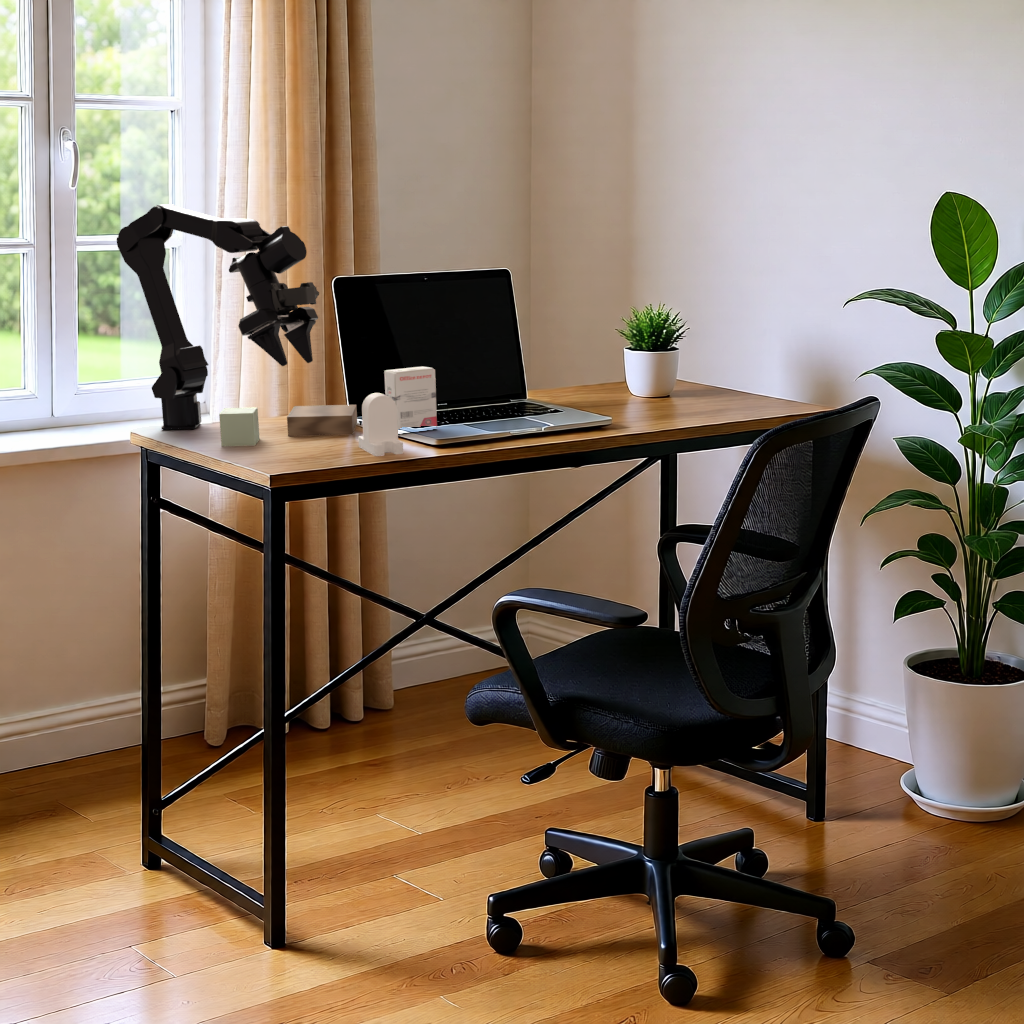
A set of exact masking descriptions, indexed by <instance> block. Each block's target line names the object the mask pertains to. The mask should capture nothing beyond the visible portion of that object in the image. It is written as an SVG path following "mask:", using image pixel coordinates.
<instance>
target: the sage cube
mask: <svg viewBox="0 0 1024 1024" xmlns="http://www.w3.org/2000/svg"><path fill="white" fill-rule="evenodd" d="M259 424H260V423H259V409H258V406H257V407H256V406H255V407H252V406H251V407H226V408H223V410H221V412H219V429H220V441H221V443H220V444H221V447H245V446H247V447H249V446H253V447H254V446H256V445H257V444H258V442H259V441H260V439H261V438H260V427H259V426H260V425H259Z"/></svg>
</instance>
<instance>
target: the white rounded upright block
mask: <svg viewBox="0 0 1024 1024" xmlns="http://www.w3.org/2000/svg"><path fill="white" fill-rule="evenodd" d="M361 415H362V417H361V418H362V419H361V420H362V435H359V436H358V438H357V439H358V448H360V449H361V450H363V451H365V452H366V453H368V454H371V455H372V456H374V457H383V456H384V457H385V453H390V454H391V453H392V454H394V455H402V454H404V442H403V441H401V440H400V439H399V435H398V423H397V407H396V404H395V402H394V400H393V399H392V398H390V397H388V396H386V395H385V394H384V393H380V392H374V393H370V394H368V395H367V396H366V397H365V398H364V399H363V402H362V404H361Z"/></svg>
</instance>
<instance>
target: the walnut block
mask: <svg viewBox="0 0 1024 1024" xmlns="http://www.w3.org/2000/svg"><path fill="white" fill-rule="evenodd" d="M348 405H349V406H348ZM357 410H358V409H357V404H333V405H332V404H329V405H328V404H326V405H325V404H324V405H320V404H319V405H294V406H293V408H292V409H291V410H290V412H289V414H288V415H287V416H286V421H287V425H286V426H287V437H309V436H311V437H313V436H317V437H319V436H345V435H346V436H347V435H348V436H351V435H352V436H353V435H354V433H355V430H356V427H357V424H358V412H357Z"/></svg>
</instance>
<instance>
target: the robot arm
mask: <svg viewBox="0 0 1024 1024" xmlns="http://www.w3.org/2000/svg"><path fill="white" fill-rule="evenodd" d="M174 231H178V232H181V233H185V234H189V235H192V236H195V237H199V238H203V239H206V240H209V241H211V242H212V243H213V244H214V246H215V247H217V248H219V249H221V250H223V251H224V252H227V253H229V254H237V253H246V254H245V255H243V256H235V257H232V261H231V264H230V265H229V267H228V272H229V273H230V274H232V273H240V275H241V277H242V279H243V282H244V285H245V286H246V288H247V291H248V293H249V295H246V300H247V302H248V303H253V305H254V306H255V309H256V310H255V311H252V312H251V313H249V314H247V315H246V316H243V317H242V318H240V319H239V321H238V325H237V326H238V329H239V331H240V333H241V336H242V337H244V336H247V339H248V340H249V341H250V340H251V341H252V342H253V343H254V344H256V346H258V347H259V348H260V349H261V350H263V351H264V352H265V353H267V354H268V356H270V357H271V359H273V360H275V361H276V363H278V364H279V366H281V367H285V366H287V365H288V360H287V356H286V353H285V350H284V348H283V343H282V341H281V338H280V334H279V333H280V330H281V329H282V331H283V332H284V334H283V335H284V337H285V338H286V340H287V341H288V342H289V343H290V344H291V346H292V347H293V348H294V349H295V351H296V352H297V353H298V354H299V355H300V356H301V358H302V359H303V360H304V361H305V363H306V364H311V363H312V362H313V361H314V360H313V359H314V358H313V352H312V341H311V331H312V330H313V328H314V325H316V322H317V320H318V319H319V316H318V314H317V312H316V310H315V308H312V307H310V306H311V305H317V298H318V296H319V295H320V292H319V290H318V289H317V286H315V285H314V283H313V282H311V281H309V282H301V283H300V285H299V286H298V287H290V288H289V286H288V285H287V284H286V283H285V282H280V281H279V279H278V277H277V276H278V275H276V274H279V275H280V274H283V273H284V272H286V271H288V270H289V269H291V268H292V267H294V266H296V265H297V264H299V263H300V262H302V261H303V260H305V259H306V256H307V247H306V244H305V242H304V241H303V240H302V239H301V238H300V237H299V235H297V234H296V233H294V232H293V231H291V229H290V227H289V226H288V225H283V226H279V227H278V228H276V230H275V231H274V232H273V233H270V232H268V231H266V230H265V229H263V228H262V227H261V223H260V222H258V221H257V220H255V219H252V218H221V217H216V216H212V215H209V214H205V213H201V212H198V211H194V210H191V209H186V208H182V207H179V206H177V205H175V204H171V203H170V204H156V205H154V206H153V207H151V209H149V210H148V212H147V211H146V213H145V214H143V215H141V216H140V217H138V218H136V219H135V220H133V221H131V222H130V223H129V224H128V225H127V226H124V227H122V228H121V229H120V230H119V232H118V235H117V237H116V245H117V249H118V251H119V253H120V255H121V257H122V260H123V261H124V263H125V264H126V265H127V266H128V267H129V268H130V269H131V270H132V271H133V272H134V273H135V274H136V275H137V278H138V280H139V283H140V285H141V289H142V292H143V294H144V295H143V296H144V298H145V301H146V304H147V306H148V309H149V312H150V315H151V319H152V321H153V325H154V327H155V330H156V333H157V336H158V340H159V342H160V345H161V350H160V351H161V352H160V356H159V362H158V363H159V368H160V375H159V376H158V378H157V379H156V381H155V382H154V383H153V385H152V386H151V391H152V394H153V397H154V398H155V399H160V400H161V412H162V422H163V425H162V426H161V427H160V428H161V429H160V430H162V429H170V430H195V429H196V428H198V427H199V425H201V423H202V411H201V402H200V400H198V399H197V398H198V397H197V396H198V394H202V393H204V387H205V383H206V380H207V377H208V376H209V374H208V373H209V370H208V367H207V366H209V363H208V361H207V359H206V358H205V354H204V353H205V352H204V349H203V347H202V345H200V344H199V345H193V344H192V343H191V342H190V341H189V340H188V338H187V335H186V331H185V329H184V327H183V323H182V320H181V318H180V317H181V316H180V315H179V311H178V307H177V305H176V303H175V299H174V296H173V293H172V290H171V287H170V285H169V282H168V278H167V275H166V272H165V268H164V266H165V261H166V255H167V251H166V246H165V243H166V242H168V241H169V239H171V237H172V236H173V233H174ZM254 251H257V252H254ZM247 252H248V253H247ZM302 305H305V306H302ZM306 305H310V306H306ZM298 306H300V307H298Z"/></svg>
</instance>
